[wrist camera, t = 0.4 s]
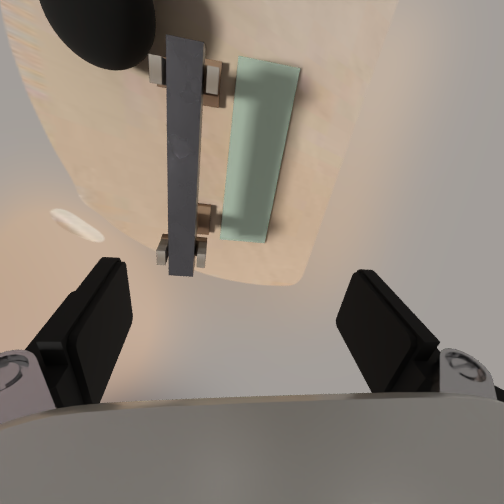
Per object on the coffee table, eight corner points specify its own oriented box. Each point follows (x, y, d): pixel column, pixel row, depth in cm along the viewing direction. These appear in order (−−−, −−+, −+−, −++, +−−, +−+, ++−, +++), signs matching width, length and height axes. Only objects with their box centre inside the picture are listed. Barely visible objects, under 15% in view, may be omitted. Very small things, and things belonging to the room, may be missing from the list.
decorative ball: (62, -57, 26) (-14, -130, 18) (165, -26, 28) (140, -79, 20) (76, 62, 31) (22, 50, 23) (163, 81, 33) (142, 77, 24)
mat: (238, 56, 32) (238, 55, 32) (299, 68, 34) (300, 68, 33) (220, 238, 45) (220, 239, 45) (264, 242, 47) (264, 243, 46)
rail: (172, 40, 23) (165, 34, 21) (205, 47, 24) (203, 42, 21) (172, 262, 35) (168, 275, 33) (194, 263, 36) (192, 276, 33)
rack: (172, 52, 32) (146, 30, 20) (221, 62, 32) (221, 46, 21) (173, 228, 44) (156, 274, 33) (208, 232, 45) (204, 277, 34)
